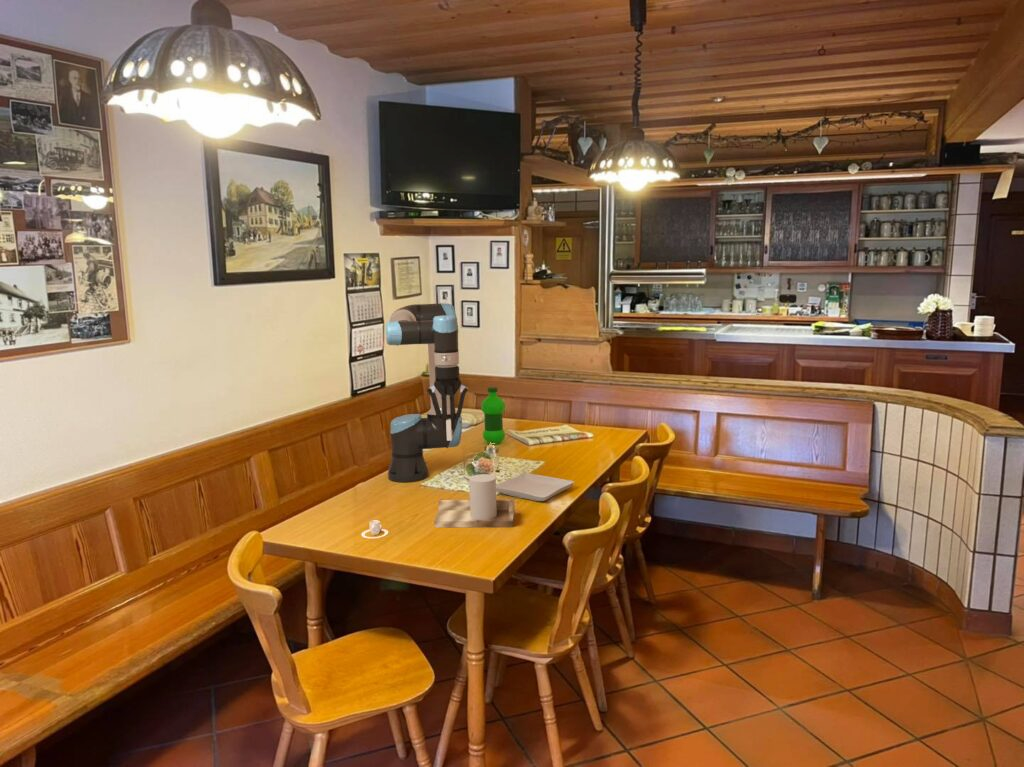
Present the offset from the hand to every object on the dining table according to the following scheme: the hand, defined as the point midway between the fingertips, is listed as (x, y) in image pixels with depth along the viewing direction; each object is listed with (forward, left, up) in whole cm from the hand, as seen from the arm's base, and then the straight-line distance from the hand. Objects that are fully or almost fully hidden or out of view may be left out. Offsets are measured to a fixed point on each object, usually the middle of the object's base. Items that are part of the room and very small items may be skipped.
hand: (449, 439), depth 233 cm
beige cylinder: (+11, -8, -23) cm, 26 cm away
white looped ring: (-19, -15, -25) cm, 35 cm away
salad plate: (+26, +22, -25) cm, 42 cm away
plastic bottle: (+7, +93, -25) cm, 96 cm away
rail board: (+8, -7, -24) cm, 27 cm away
